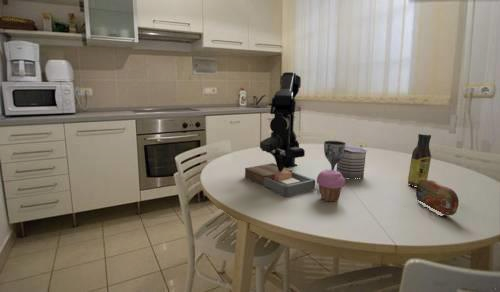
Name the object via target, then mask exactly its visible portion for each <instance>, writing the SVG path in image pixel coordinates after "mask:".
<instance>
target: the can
mask: <svg viewBox="0 0 500 292" xmlns="http://www.w3.org/2000/svg"><path fill="white" fill-rule="evenodd" d="M367 152H368V150H366V149H365V148H362V147H358V146H354V145H347V144H346V146H345V152H344V155H343V157H342V159H341V160H340V161H339V162H338V163H337V164H336V170H335V171H339V172H340V173H341V174H342V176H343V178H344V179H345V178H349V179H348V180H354V179H355V178H356V179H357V178H358V179H359V178H362V177H363V178H364V176H365V175H364V174H365V166H366V156H367V155H366V154H367ZM363 178H362V179H363ZM359 180H360V179H359Z"/></svg>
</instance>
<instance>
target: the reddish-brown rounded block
mask: <svg viewBox="0 0 500 292" xmlns="http://www.w3.org/2000/svg"><path fill="white" fill-rule="evenodd" d="M415 194H416V195H415V196H416V199H417V201H418V200H419V201H421V202H423V203H425V204H426V205H428V206H430V207H431V208H433V209H435V210H437V211H439V212H441V213H442V214H444V215H451V216H453V215H455V214H456V213H457V210H458V207H459V197H458V194H457V193H456V191H454V190H453V189H452V188H450V187H448V186H445V185H443V184H441V183H439V182H436V181H435V180H434V181H433V180H430V179H429V180H428V179H427V180H422V181H420V182H419V184H418V185H417V187H416V189H415Z"/></svg>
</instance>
